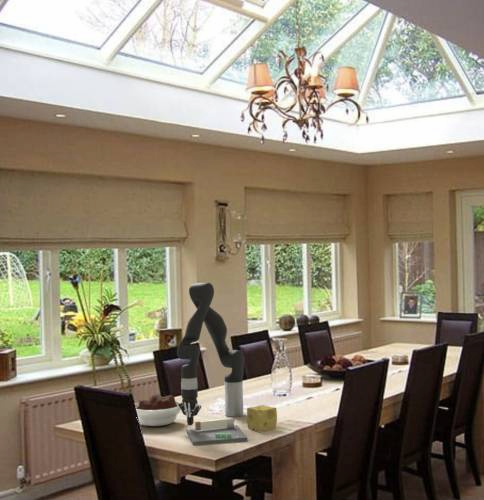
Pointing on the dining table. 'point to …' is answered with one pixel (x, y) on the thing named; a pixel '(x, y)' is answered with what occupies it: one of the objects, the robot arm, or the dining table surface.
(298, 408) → the dining table surface
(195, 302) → the robot arm
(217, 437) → the grey square slab
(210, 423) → the beige wooden bar
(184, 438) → the dining table surface
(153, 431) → the dining table surface
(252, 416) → the cheese
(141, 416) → the bowl of brownies
